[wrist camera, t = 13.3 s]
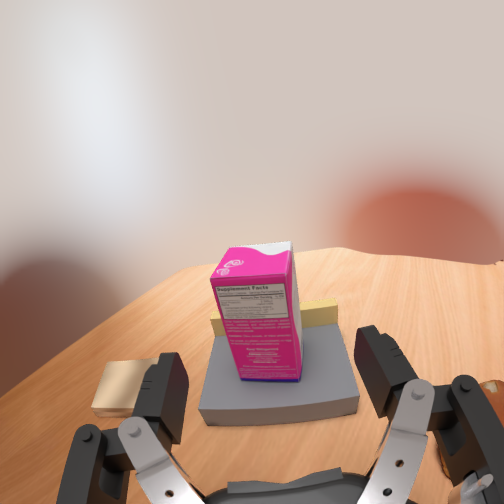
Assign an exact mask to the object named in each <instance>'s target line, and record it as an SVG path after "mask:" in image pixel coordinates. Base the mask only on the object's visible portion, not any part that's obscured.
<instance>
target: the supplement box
mask: <svg viewBox="0 0 504 504" xmlns="http://www.w3.org/2000/svg"><path fill="white" fill-rule="evenodd" d="M210 282H211V285H212V289H213V292H214V295H215V299H216V302H217V306H218V309H219V313H220V316H221V320H222V323H223V326H224V329H225V333H226V336H227V339H228V342H229V346H230V349H231V352H232V355H233V358H234V361H235V365H236V368H237V371H238V374H239V377H240V380H244V381H271V382H300V379H301V373H302V363H303V348H304V341H303V334H302V324H301V314H300V305H299V296H298V287H297V279H296V270H295V262H294V254H293V247H292V242H291V241H286V242H277V243H269V244H258V245H246V246H235V247H230V248H229V249H228V251H227V252H226V254H225V255H224V257H223V258H222V260H221V262H220V263H219V265H218V266H217V268H216V269H215V271H214V273H213V274H212V276H211V277H210Z"/></svg>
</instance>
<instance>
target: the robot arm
mask: <svg viewBox="0 0 504 504" xmlns="http://www.w3.org/2000/svg"><path fill="white" fill-rule="evenodd" d="M354 360H355V364H356V366H357V369H358V371H359V373H360V375H361V378H362V380H363V382H364V385H365V387H366V389H367V391H368V394H369V396H370V399H371V401H372V403H373V406H374V408H375V410H376V413H377V415H378V418H382V417H385V416H387V418H388V420H389V422H388V424H387V427H386V430H385V432H384V435H383V437H382V440H381V442H380V445H379V447H378V449H377V452H376V454H375V456H374V458H373V460H372V462H371V464H370V466H369V468H368V470H367V472H366V474H365V476H364V475H360V474H356V473H347V472H342V471H341V467H339V468H335V469H330V470H326V471H321V472H316V473H312V474H310V475H307V476H305V477H302V478H300V479H297V480H295V481H292V482H289V483H285V484H280V483H270V482H262V481H241V482H228V488H224V489H221V490H218V491H216V492H213V493H211V494H210V495H208V496H206V495H205V494H204V492H203V491H202V490H201V489H200V488H199V487H198V486H197V485H196V484H195V483H194V481H193V480H192V479H191V478H190V476H189V475H188V474H187V473H186V471H185V470H184V469H183V467H182V466H181V465H180V463H179V462H178V461H177V459H176V458H175V456H174V455H173V454H172V452H171V447H172V444H180V442H181V435H182V428H183V421H184V414H185V407H186V401H187V395H188V388H189V379H188V375H187V372H186V370H185V368H184V365H183V363H182V360H181V358H180V356H179V354H178V353H177V352H172V353H161V354H160V356H159V360H158V363H157V364H152V365H151V366H150V367H149V368H148V369H147V371H146V372H145V374H144V377H143V380H142V383H141V387H140V390H139V393H138V396H137V399H136V403H135V406H134V409H133V412H132V415H131V417H130V418H127V419H125V420H124V421H123V422H122V423H121V424H120V426H119V427H118V428H114V429H108V430H102V431H101V430H100V429H99V428H98V427H97V426H95V425H92V424H86V425H83V426H81V427H80V428H79V429H78V430H77V431H76V433H75V435H74V438H73V441H72V444H71V448H70V451H69V454H68V458H67V461H66V465H65V469H64V472H63V476H62V480H61V484H60V488H59V493H58V497H57V502H56V504H126V499H127V491H128V483H129V476H130V470H136V471H137V474H136V478H137V480H138V482H139V484H140V485H141V487H142V489H143V490H144V492H145V494H146V495H147V497H148V498H149V500H150V501H151V503H152V504H417V503H415V502H413V501H411V500H409V499H408V496H409V494H410V491H411V489H412V486H413V484H414V481H415V478H416V476H417V473H418V470H419V467H420V464H421V461H422V458H423V455H424V451H425V448H426V444H427V440H428V436H427V435H426V431H433V434H434V436H435V438H436V441H437V443H438V446H439V448H440V451H441V453H442V456H443V459H444V461H445V464H446V467H447V470H448V472H449V475H450V478H451V481H452V484H453V487H454V488H453V489H452V491H451V492H450V494H449V497H448V504H504V427H503V425H502V423H501V421H500V420H499V418H498V416H497V414H496V412H495V411H494V409H493V407H492V405H491V404H490V402H489V400H488V398H487V397H486V395H485V393H484V392H483V390H482V389H481V387H480V385H479V384H478V382H477V381H476V380H475V379H474V378H473V377H471V376H469V375H460V376H457V377H456V378H455V379H454V380H453V382H452V384H450V385H440V386H432V385H431V384H430V383H429V382H428V381H426V380H423V379H419V378H418V376H417V375H416V373H415V371H414V370H413V368H412V367H411V365H410V363H409V362H408V360H407V359H406V357H405V355H403V352H402V351H401V349H399V346H398V344H397V343H396V341H395V340H394V339H393V338H392V337H390V336H389V335H387V334H386V333H384V334H380V333H379V331H378V330H377V328H376V327H375V326H374V325H370V326H366V327H362V328H358V329H357V333H356V341H355V348H354Z"/></svg>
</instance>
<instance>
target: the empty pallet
mask: <svg viewBox="0 0 504 504" xmlns="http://www.w3.org/2000/svg"><path fill="white" fill-rule="evenodd" d="M158 360H159V358H150V359H140V360H128V361H115V362H107V364H106V367H105V370H104V372H103V375H102V378H101V380H100V383H99V386H98V389H97V392H96V395H95V397H94V400H93V403H92V406H91V408H92V409H93V410H94V411H93V412H94V413H95V414H96V415H97V416H98V417H131V415H132V412H133V409H134V406H135V403H136V399H137V396H138V393H139V390H140V387H141V383H142V380H143V377H144V374H145V372H146V371H147V369H148V368H149V367H150V366H151V365H152V364H157V363H158Z"/></svg>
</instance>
